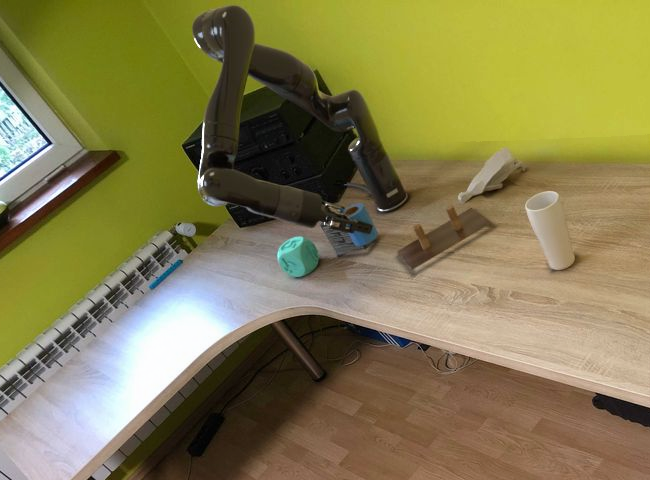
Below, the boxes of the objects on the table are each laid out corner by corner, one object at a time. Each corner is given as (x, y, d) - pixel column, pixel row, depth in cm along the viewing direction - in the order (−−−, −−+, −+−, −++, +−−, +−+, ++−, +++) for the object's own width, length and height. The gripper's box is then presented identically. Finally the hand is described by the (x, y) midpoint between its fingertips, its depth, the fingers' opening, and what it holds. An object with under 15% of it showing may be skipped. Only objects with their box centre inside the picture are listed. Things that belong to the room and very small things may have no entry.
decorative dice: (310, 275, 172) (295, 251, 167) (288, 279, 175) (272, 256, 171) (323, 257, 177) (308, 233, 172) (300, 261, 181) (285, 238, 176)
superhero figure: (512, 168, 173) (451, 201, 169) (504, 135, 168) (441, 169, 163) (534, 175, 165) (471, 210, 161) (527, 142, 160) (461, 177, 155)
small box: (379, 239, 171) (361, 205, 165) (368, 253, 168) (349, 220, 161) (348, 243, 177) (330, 211, 171) (337, 257, 173) (318, 225, 167)
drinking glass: (581, 250, 131) (561, 187, 122) (576, 270, 126) (556, 206, 118) (549, 255, 134) (528, 194, 125) (543, 275, 130) (521, 213, 121)
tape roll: (351, 240, 150) (336, 213, 146) (373, 227, 150) (359, 200, 146) (358, 249, 145) (342, 221, 141) (381, 236, 146) (366, 208, 141)
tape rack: (398, 256, 160) (385, 232, 155) (473, 212, 161) (462, 186, 157) (414, 274, 150) (401, 249, 146) (493, 227, 152) (483, 201, 147)
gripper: (306, 199, 131) (381, 218, 139) (294, 181, 143) (364, 200, 151) (297, 233, 134) (371, 250, 142) (286, 212, 146) (354, 229, 154)
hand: (367, 224), depth 146 cm, fingers closed on tape roll, 6 cm apart
